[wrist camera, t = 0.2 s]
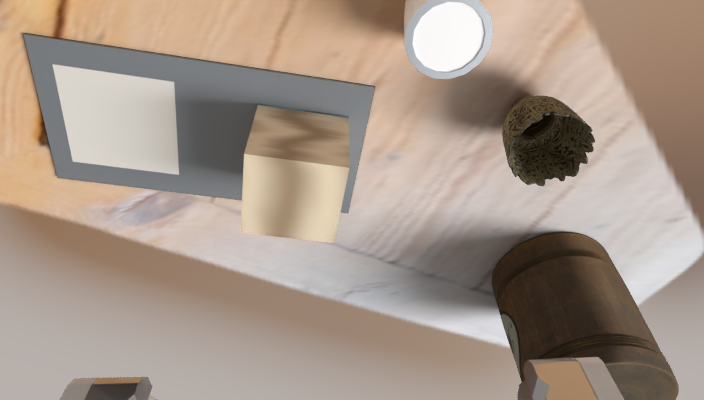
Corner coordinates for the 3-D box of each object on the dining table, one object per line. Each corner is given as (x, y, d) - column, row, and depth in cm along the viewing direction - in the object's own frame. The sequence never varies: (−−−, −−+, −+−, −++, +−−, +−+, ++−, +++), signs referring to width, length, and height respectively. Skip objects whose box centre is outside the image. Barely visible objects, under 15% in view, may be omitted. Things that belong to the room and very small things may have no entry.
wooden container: (467, 286, 67) (510, 455, 50) (550, 213, 59) (634, 383, 42) (547, 323, 72) (611, 487, 55) (633, 260, 64) (738, 428, 47)
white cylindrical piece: (417, 60, 47) (427, 94, 42) (382, -5, 44) (388, 23, 38) (486, 22, 45) (506, 53, 40) (456, -49, 42) (473, -26, 36)
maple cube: (348, 116, 51) (349, 167, 44) (335, 187, 56) (334, 243, 49) (258, 103, 50) (244, 153, 43) (253, 176, 55) (240, 232, 48)
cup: (490, 147, 53) (509, 193, 47) (486, 84, 49) (507, 126, 43) (562, 133, 52) (592, 178, 46) (565, 67, 48) (598, 108, 42)
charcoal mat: (374, 86, 49) (375, 87, 49) (348, 211, 59) (348, 213, 58) (25, 33, 45) (23, 34, 45) (58, 176, 55) (57, 177, 55)
